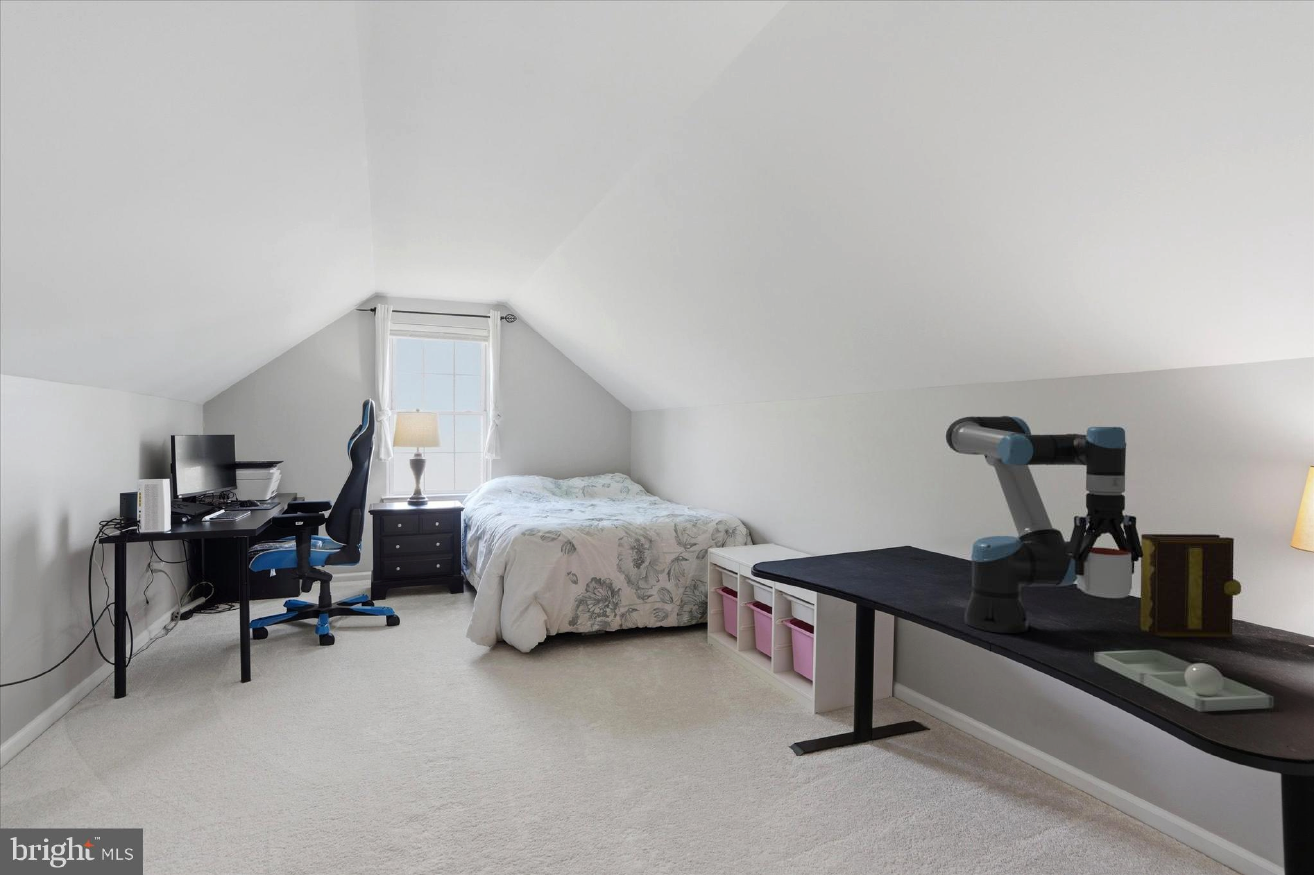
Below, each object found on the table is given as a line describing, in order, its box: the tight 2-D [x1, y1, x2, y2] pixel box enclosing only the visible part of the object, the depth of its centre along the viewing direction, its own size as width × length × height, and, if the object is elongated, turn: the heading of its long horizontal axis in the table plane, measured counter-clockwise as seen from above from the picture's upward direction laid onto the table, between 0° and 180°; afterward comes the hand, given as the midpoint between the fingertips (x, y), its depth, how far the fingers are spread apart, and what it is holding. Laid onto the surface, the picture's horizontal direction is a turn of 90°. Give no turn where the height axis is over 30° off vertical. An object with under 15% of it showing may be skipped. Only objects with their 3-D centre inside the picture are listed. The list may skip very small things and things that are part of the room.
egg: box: [1184, 662, 1224, 696], centre depth 130 cm, size 6×6×6 cm
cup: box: [1080, 546, 1132, 599], centre depth 155 cm, size 10×10×10 cm
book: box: [1139, 533, 1242, 639], centre depth 171 cm, size 22×8×25 cm, turn 87°
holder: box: [1093, 649, 1275, 712], centre depth 137 cm, size 26×15×3 cm, turn 5°
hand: (1104, 588), depth 156 cm, fingers closed on cup, 10 cm apart
